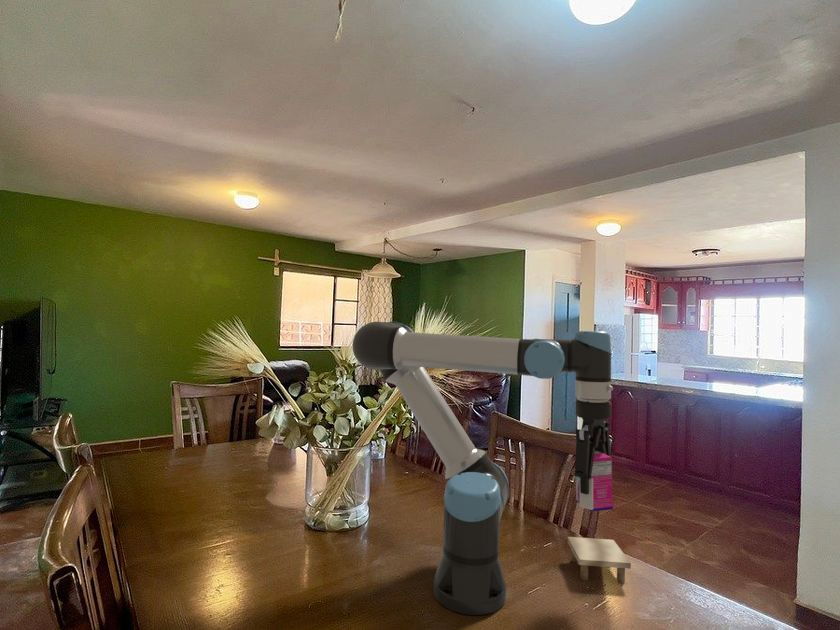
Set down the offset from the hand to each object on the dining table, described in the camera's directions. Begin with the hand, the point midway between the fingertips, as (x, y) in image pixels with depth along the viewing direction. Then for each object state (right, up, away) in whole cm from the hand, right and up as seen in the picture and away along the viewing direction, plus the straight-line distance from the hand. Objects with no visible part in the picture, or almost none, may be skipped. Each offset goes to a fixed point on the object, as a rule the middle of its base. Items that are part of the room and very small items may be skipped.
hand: (593, 502), depth 101 cm
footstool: (+3, -18, +5) cm, 19 cm away
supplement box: (0, -1, 0) cm, 1 cm away
